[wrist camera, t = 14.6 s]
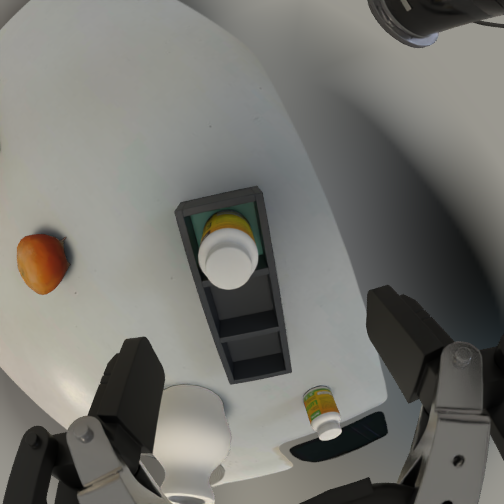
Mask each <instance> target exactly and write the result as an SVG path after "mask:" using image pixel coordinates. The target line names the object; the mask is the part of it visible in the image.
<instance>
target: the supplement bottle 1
mask: <svg viewBox="0 0 504 504" xmlns="http://www.w3.org/2000/svg"><path fill="white" fill-rule="evenodd" d="M198 260H199V265H200V267H201V269H202V271H203V273H204V274H205V275H206V276H207V277H208V279H209V281H210V282H211V283H212V284H213V285H215V286H216V287H218V288H221V289H227V290H231V289H236V288H239V287H241V286H242V285H244V284H245V283H246V282H247V281H248V279H249V278H250V276H251V275H252V273H253V272H254V270H255V269H256V266H257V263H258V250H257V246H256V243H255V240H254V236H253V233H252V230H251V227H250V224H249V222H248V220H247V219H246V218H245V217H244V216H243V215H242V214H240V213H239V212H236V211H233V210H222V211H219V212H216V213H215V214H213V215H212V216H211V217H210V218H209V219H208V220H207V222H206V224H205V226H204V230H203V234H202V239H201V243H200V248H199V253H198Z"/></svg>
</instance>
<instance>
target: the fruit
mask: <svg viewBox="0 0 504 504" xmlns="http://www.w3.org/2000/svg"><path fill="white" fill-rule="evenodd" d="M65 239H66V237H65V238H63V239H62V240H58V239H57V238H56V237H52V236H48V235H45V234H34V235H29V236H25V237H24V238H23V239H21V241H20V243H19V244H18V247H17V263H18V269H19V272H20V274H21V276H22V278H23V279H24V281H25V283H26V284H27V285H28V286H29V287H30V288H31V289H32V290H34V291H35V292H36V293H38V294H42V295H44V294H48V293H50V292H51V291H53V290H54V289H55V288H56V287H57V286H58V285H59V283H60V282H61V281H62V279H63V277H64V275H65V273H66V271H67V269H68V267H69V266H70V263H68V261H67V259H66V256H65V253H64V240H65Z"/></svg>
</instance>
